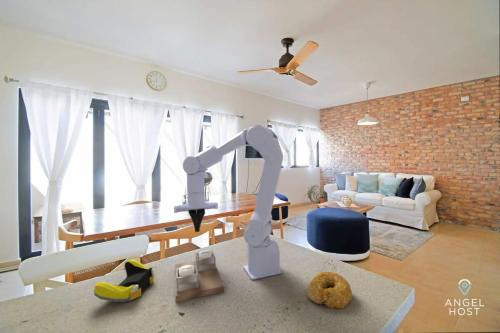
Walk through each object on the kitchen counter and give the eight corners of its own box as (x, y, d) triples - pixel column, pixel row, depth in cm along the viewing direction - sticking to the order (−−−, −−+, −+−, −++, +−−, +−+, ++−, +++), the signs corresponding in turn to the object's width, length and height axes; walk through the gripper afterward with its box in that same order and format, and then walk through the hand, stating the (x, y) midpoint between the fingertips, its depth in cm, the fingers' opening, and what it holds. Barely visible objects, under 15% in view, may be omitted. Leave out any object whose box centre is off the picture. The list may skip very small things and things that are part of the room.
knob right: (210, 261, 71) (210, 249, 71) (212, 267, 67) (212, 254, 67) (198, 263, 69) (197, 251, 69) (199, 269, 66) (199, 256, 65)
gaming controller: (89, 308, 52) (129, 310, 51) (88, 286, 52) (128, 287, 51) (129, 274, 67) (160, 275, 66) (128, 257, 67) (160, 257, 66)
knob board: (212, 262, 73) (212, 247, 73) (223, 291, 57) (223, 272, 57) (175, 269, 69) (174, 253, 69) (175, 302, 53) (175, 282, 53)
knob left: (194, 277, 61) (193, 263, 61) (195, 285, 57) (195, 270, 57) (179, 280, 60) (178, 266, 60) (179, 288, 56) (179, 273, 56)
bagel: (299, 288, 58) (299, 271, 58) (335, 282, 61) (336, 266, 60) (318, 315, 49) (319, 294, 48) (361, 307, 51) (362, 287, 51)
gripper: (214, 188, 81) (215, 225, 81) (173, 191, 76) (174, 230, 76) (218, 191, 74) (219, 231, 75) (173, 194, 69) (175, 237, 70)
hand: (197, 231), depth 75 cm, fingers closed
